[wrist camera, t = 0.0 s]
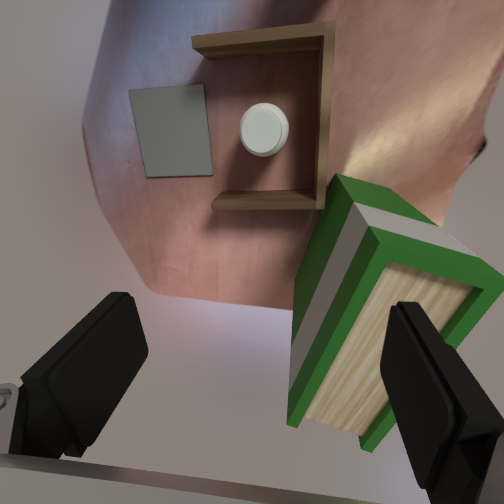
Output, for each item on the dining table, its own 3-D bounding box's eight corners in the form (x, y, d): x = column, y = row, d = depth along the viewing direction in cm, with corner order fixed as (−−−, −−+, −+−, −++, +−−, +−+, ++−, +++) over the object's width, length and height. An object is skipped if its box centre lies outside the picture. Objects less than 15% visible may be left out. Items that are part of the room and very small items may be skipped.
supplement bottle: (241, 137, 37) (224, 143, 28) (260, 96, 34) (248, 89, 26) (276, 158, 37) (270, 169, 29) (297, 119, 35) (298, 119, 26)
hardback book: (338, 294, 45) (371, 452, 23) (294, 280, 45) (286, 424, 23) (389, 188, 37) (510, 281, 15) (335, 173, 37) (379, 242, 16)
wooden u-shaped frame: (208, 49, 33) (191, 36, 28) (328, 37, 31) (336, 20, 26) (222, 198, 41) (211, 210, 35) (320, 196, 39) (324, 209, 33)
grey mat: (130, 90, 36) (128, 90, 36) (203, 84, 35) (202, 84, 34) (147, 176, 41) (146, 176, 40) (213, 174, 39) (212, 174, 39)
